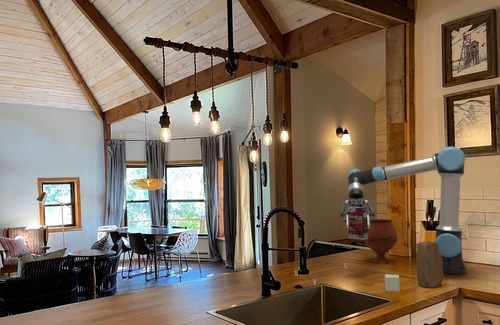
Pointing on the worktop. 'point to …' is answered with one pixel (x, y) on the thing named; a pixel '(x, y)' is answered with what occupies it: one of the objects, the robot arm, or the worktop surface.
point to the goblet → (381, 238)
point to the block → (429, 264)
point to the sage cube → (392, 283)
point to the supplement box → (357, 223)
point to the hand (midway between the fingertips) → (358, 226)
